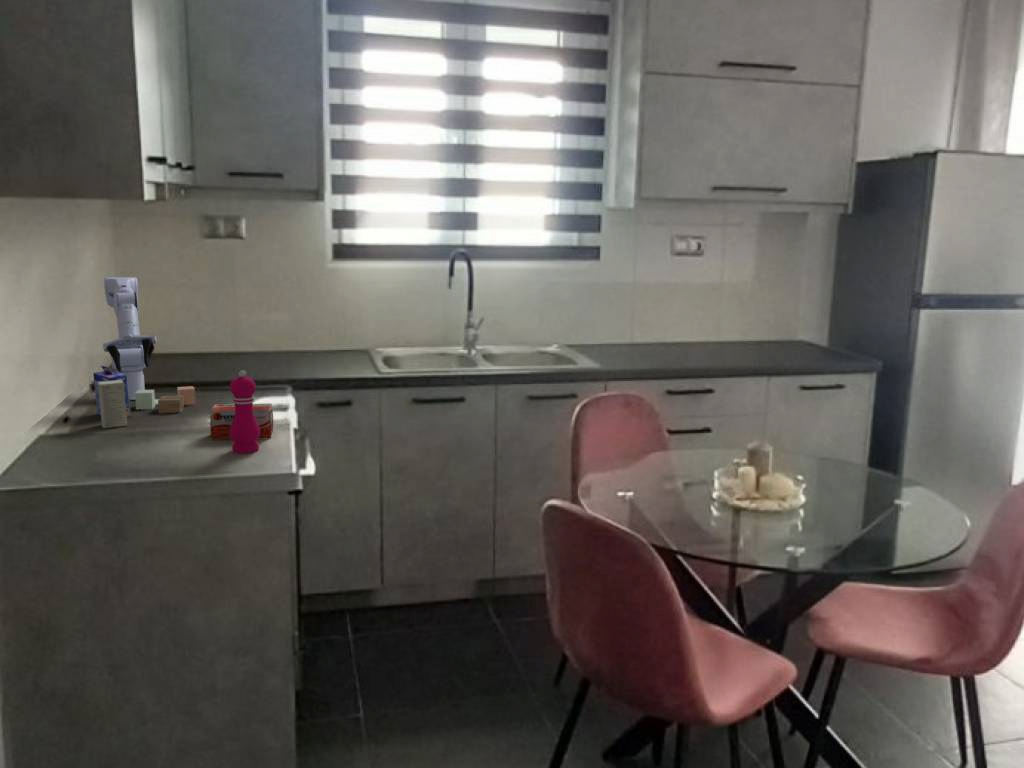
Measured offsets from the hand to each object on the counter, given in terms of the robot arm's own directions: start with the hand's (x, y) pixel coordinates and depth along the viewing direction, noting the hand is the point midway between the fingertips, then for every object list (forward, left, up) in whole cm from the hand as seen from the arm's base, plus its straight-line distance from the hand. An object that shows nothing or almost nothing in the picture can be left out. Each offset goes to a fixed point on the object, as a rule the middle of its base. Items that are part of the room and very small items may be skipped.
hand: (132, 367), depth 251 cm
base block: (+1, +10, -13) cm, 16 cm away
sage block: (-4, +2, -13) cm, 14 cm away
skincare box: (+18, -2, -13) cm, 22 cm away
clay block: (-8, +13, -13) cm, 20 cm away
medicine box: (+34, +33, -13) cm, 49 cm away
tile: (-11, +3, -13) cm, 17 cm away
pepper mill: (+49, +35, -13) cm, 62 cm away
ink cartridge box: (+5, -5, -13) cm, 15 cm away
